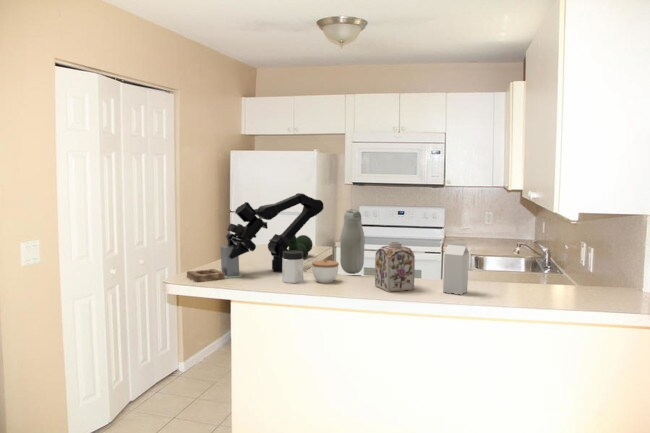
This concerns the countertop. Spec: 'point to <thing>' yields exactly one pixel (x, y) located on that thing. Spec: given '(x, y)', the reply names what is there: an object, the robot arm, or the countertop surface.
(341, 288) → the countertop surface
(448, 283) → the milk carton
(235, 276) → the mat
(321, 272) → the lidded jar
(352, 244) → the grey green vase
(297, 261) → the jar
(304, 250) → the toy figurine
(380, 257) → the decorative jar
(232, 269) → the grey rectangular block
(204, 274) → the socket block
